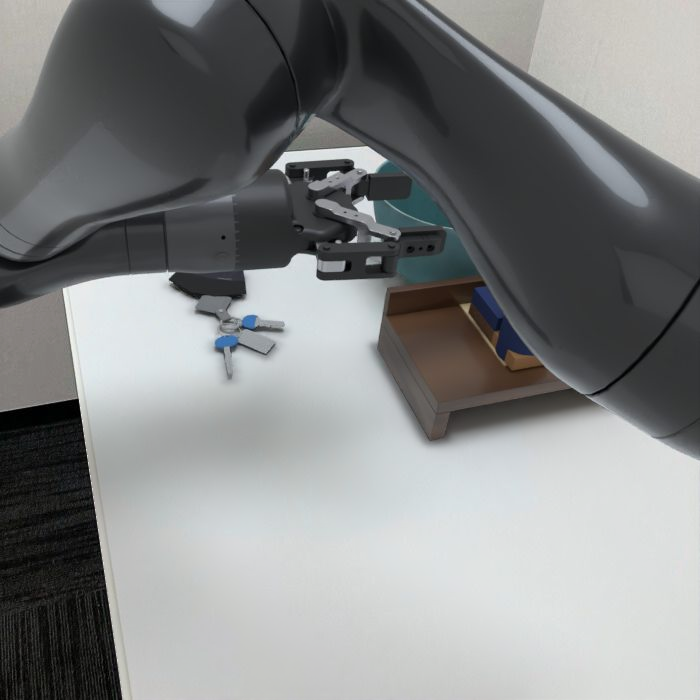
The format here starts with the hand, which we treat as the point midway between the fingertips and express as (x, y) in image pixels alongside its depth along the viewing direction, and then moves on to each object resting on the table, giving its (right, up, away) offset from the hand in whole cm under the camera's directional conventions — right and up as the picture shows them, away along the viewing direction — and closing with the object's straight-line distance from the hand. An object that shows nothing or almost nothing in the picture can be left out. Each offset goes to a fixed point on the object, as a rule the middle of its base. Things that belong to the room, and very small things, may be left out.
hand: (426, 211), depth 62 cm
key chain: (-18, -9, +21) cm, 29 cm away
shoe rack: (+9, -14, +19) cm, 25 cm away
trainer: (+10, -10, +16) cm, 21 cm away
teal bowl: (+4, -2, +32) cm, 33 cm away
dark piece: (-20, +2, +34) cm, 39 cm away
